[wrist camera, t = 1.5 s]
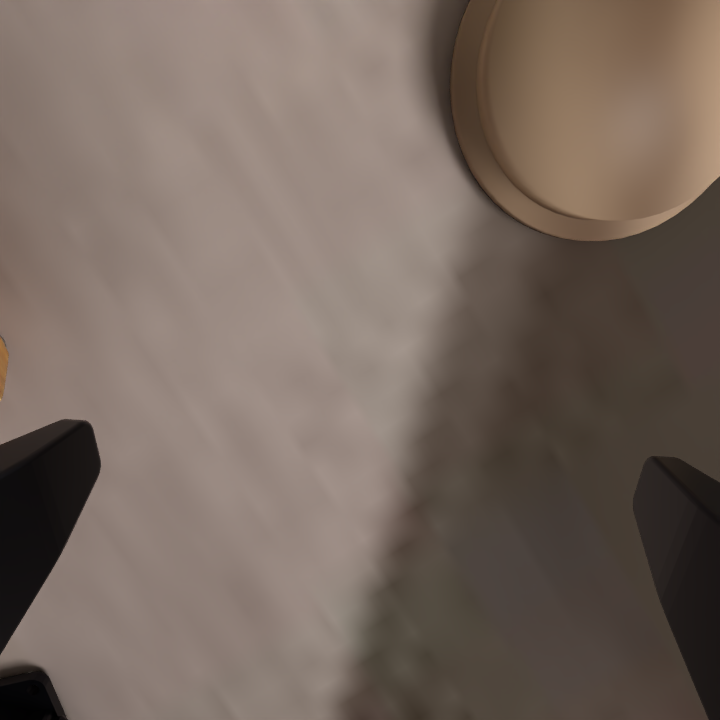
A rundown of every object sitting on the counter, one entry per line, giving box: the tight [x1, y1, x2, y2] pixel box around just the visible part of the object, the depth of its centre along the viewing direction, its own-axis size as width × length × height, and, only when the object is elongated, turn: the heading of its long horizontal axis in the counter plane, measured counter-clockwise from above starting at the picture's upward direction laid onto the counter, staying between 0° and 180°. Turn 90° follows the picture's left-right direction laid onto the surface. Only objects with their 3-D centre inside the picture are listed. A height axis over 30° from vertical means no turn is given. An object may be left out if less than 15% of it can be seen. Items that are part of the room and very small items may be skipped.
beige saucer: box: [450, 0, 720, 241], centre depth 17 cm, size 10×10×2 cm
